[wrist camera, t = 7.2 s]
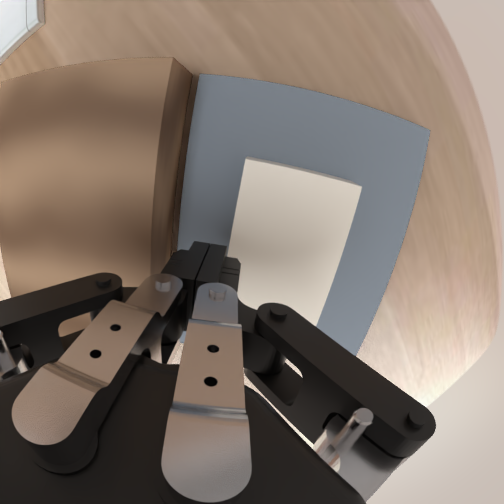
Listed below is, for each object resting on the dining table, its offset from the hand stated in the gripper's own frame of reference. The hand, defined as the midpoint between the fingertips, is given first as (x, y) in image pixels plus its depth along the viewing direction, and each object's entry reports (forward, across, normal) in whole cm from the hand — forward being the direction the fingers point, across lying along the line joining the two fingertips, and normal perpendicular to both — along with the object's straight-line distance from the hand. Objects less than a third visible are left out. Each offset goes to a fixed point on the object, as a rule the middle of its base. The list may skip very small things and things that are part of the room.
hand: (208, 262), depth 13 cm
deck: (+5, +9, 0) cm, 10 cm away
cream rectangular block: (+2, -4, 0) cm, 4 cm away
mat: (+5, -4, 0) cm, 6 cm away
